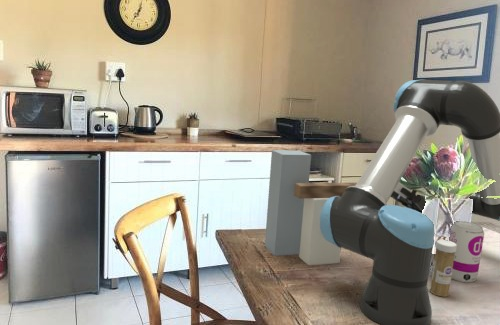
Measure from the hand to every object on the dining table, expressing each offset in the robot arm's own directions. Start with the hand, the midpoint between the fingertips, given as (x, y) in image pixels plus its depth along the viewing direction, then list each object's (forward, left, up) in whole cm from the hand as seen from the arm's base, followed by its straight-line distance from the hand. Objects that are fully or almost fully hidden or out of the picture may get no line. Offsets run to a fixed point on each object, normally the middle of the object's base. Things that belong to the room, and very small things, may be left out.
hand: (377, 178), depth 125 cm
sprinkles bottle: (-16, -19, -24) cm, 35 cm away
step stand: (-9, +19, -24) cm, 32 cm away
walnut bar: (-9, +11, -5) cm, 16 cm away
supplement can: (-2, -25, -24) cm, 35 cm away
